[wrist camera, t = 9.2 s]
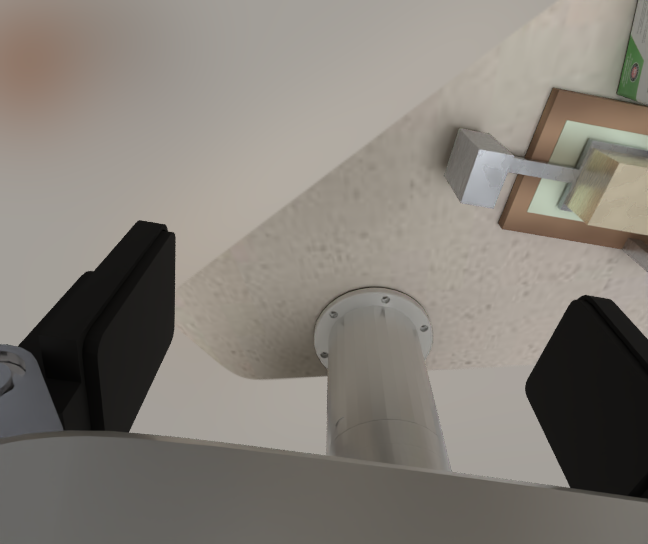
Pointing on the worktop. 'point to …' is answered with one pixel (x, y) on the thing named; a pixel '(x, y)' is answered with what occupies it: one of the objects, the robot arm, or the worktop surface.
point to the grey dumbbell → (558, 179)
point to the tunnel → (637, 251)
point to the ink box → (637, 58)
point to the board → (572, 164)
